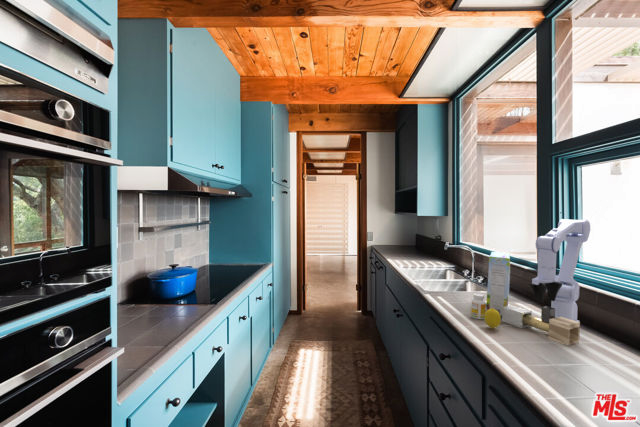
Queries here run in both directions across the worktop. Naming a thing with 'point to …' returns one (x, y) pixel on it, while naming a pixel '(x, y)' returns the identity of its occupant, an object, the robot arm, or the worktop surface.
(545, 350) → the worktop surface
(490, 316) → the lemon
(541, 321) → the tube
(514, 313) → the sleeve
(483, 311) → the supplement bottle
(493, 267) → the snack box
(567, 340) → the socket block
